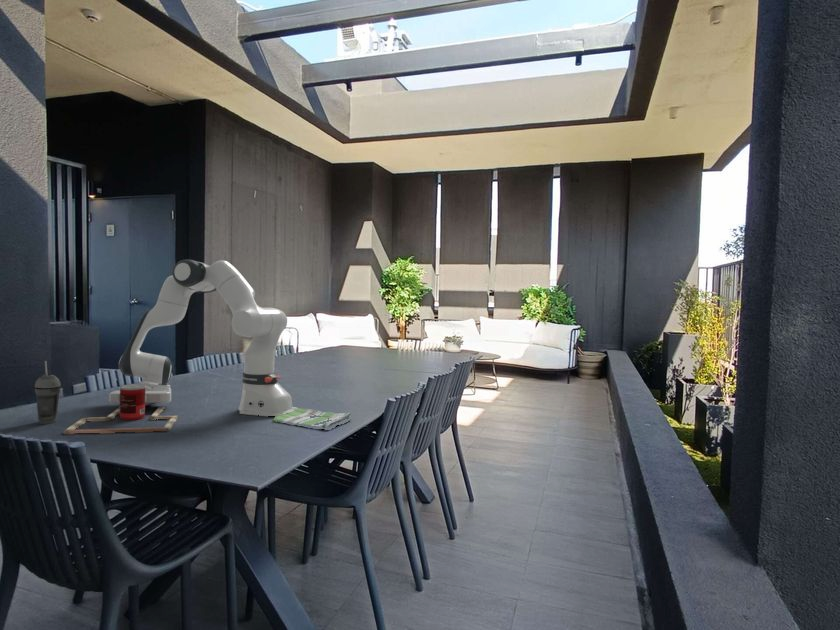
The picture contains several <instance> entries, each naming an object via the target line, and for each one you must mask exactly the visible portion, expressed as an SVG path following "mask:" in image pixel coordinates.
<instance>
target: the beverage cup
mask: <svg viewBox="0 0 840 630" xmlns="http://www.w3.org/2000/svg"><path fill="white" fill-rule="evenodd" d="M44 369H45V374H43V375H41V376H40V377H38V379H36V380H35V383H34V388H33V389H34V392H35V393H34V394H35V397H36V407H37V417H38V423H39V424H42V425H44V424H45V425H47V424H53V423H56V422H57V421H56V420H57V416H58V408H59V399H60V393H61V390H62V389H61V387H62V383H61V381H60V379H59V378H58V377H57V376H56V375H54V374H48V364H47V360H44Z"/></svg>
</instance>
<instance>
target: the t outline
mask: <svg viewBox="0 0 840 630" xmlns="http://www.w3.org/2000/svg"><path fill="white" fill-rule="evenodd" d="M163 409H164V410H165V406H164V405H159V407H158V408H157V409H156V410H155V411H154V412H153V413H152V414H151V415H150V416H149V421H159V420H158V419H167V420H166V421H167V423H165V425H164V427H159V426H158V427H131V428H130V427H129V428H128V427H127V428H126V427H125V428H124V427H123V428H95V429H93V428H91V429H88V428H85V429H78V428H80V427H81V426H82V424H83V425H84V424H85V423H87V422H86V421H90V422H110V420H111V419H112V420H113V419H114V418H116V417H117V416H118V415H120V406H119V407H118V408H116V409H114V411H112V412H111V413H110V414H108V415H107V416H100V417H99V416H98V417H95V416H93V417H92V416H91V417H81V418H80V419H79V420H77V421H76V422H74V423H73V424H71V425H70V426H69V427H67V428H66V429H64V430H63V431H62V432H63V433H62V435H63V434H64V435H75V434H74V433H100V434H116V433H115V432H135V433H154V432H153V431H168V432H169V431H170V430H171V428H172V426H173V425H174V424H175V423H176V421H177V420H178V416H179V415H161V413H162V412H163V411H164V410H163ZM117 414H118V415H117ZM116 415H117V416H116ZM158 415H159V416H158ZM115 416H116V417H115ZM156 419H157V420H156ZM112 420H111V421H112ZM174 422H175V423H174ZM79 426H80V427H79ZM76 428H77V429H76ZM75 429H76V430H75ZM169 429H170V430H169Z"/></svg>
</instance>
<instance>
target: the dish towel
mask: <svg viewBox="0 0 840 630" xmlns="http://www.w3.org/2000/svg"><path fill="white" fill-rule="evenodd" d="M297 408H298V409H296V410H295V411H293V412H291V413H288V414H283V415H279V416H277V417H273V418H272V419H271V422H272V421H277V422H284V423H293V424H300V425H308V426H316V427H323V428H328V427H330V426H332V425H334V424H336V423H339V422H341V421H343V420H345V419H349V418H352V417H351V413H350V412H340V413H337V412H331V411H321V410H317V409H311V408H299V407H297ZM314 415H316V416H321V417H315V418H310V416H314ZM328 418H329V420H332V421H329V422H326V423H324V424H319V425H314V424H316V423H320V422H323V421H327V420H328Z"/></svg>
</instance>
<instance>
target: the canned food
mask: <svg viewBox="0 0 840 630" xmlns="http://www.w3.org/2000/svg"><path fill="white" fill-rule="evenodd" d="M119 390H120V403H119V407H120V413H119V418H120V419H121V420H122V419H123V420H122V421H136V419H138V420H141V419H144V417H145V416H146V415H145V414H146V412H145V411H146V405H145V385H142V384H139V383H133V384H132V383H131V384H130V383H129V384H123V385H120V388H119Z"/></svg>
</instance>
